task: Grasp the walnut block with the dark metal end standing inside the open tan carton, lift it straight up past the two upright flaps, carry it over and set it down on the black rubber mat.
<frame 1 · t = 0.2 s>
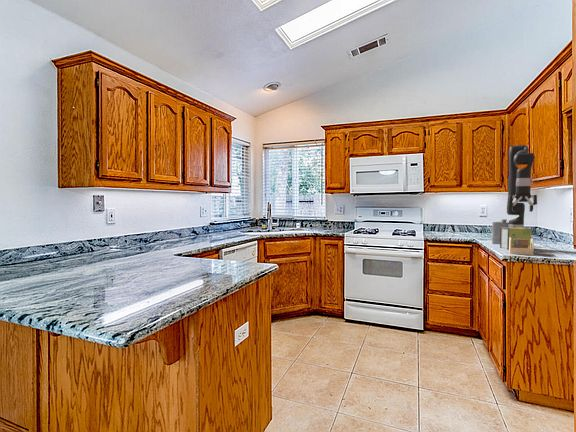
hand: (522, 211, 205), 28 cm above the countertop, tool pointing down, fingers open, 8 cm apart
walnut block: (520, 252, 215), point 1 cm above the countertop, touching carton
mat: (545, 255, 208), on the countertop
protein box: (514, 250, 233), on the countertop
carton: (520, 253, 215), on the countertop
hip flask: (503, 244, 261), on the countertop
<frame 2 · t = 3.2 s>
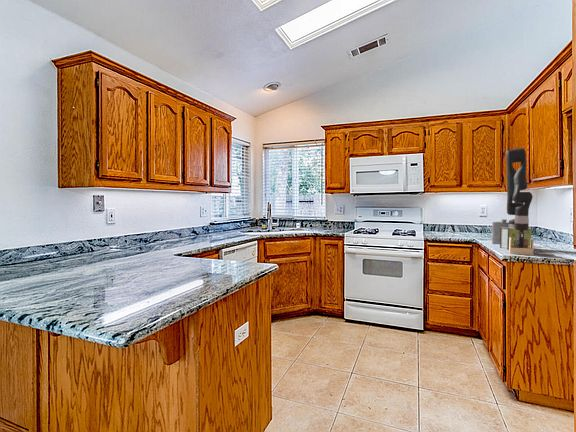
hand: (520, 248, 215), 4 cm above the countertop, tool pointing down, fingers closed on walnut block, 5 cm apart
walnut block: (520, 252, 215), point 1 cm above the countertop, touching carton, gripper
everything else where it was.
when the fingers open (5 cm above the countertop, at t = 9.3 s): walnut block drops 1 cm, resting on mat.
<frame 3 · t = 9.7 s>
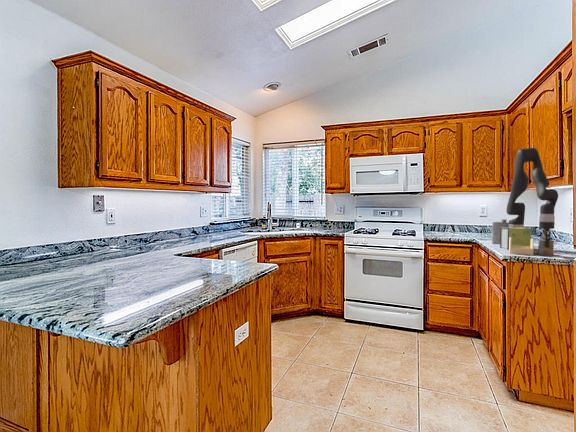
hand: (546, 246, 208), 6 cm above the countertop, tool pointing down, fingers open, 8 cm apart
walnut block: (545, 254, 208), point 1 cm above the countertop, touching mat
everything else where it was.
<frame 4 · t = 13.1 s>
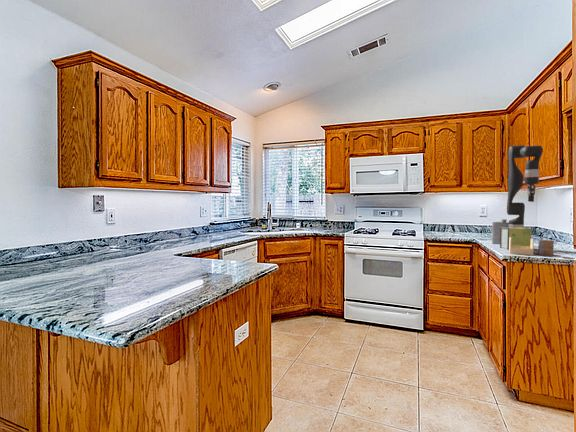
hand: (530, 201, 215), 34 cm above the countertop, tool pointing down, fingers open, 8 cm apart
nothing on the countertop moved.
at the end: walnut block inside the target area on the mat (0.1 cm from its centre), point 0.6 cm above the mat's base; walnut block tilted 0°; the gripper is holding nothing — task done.
